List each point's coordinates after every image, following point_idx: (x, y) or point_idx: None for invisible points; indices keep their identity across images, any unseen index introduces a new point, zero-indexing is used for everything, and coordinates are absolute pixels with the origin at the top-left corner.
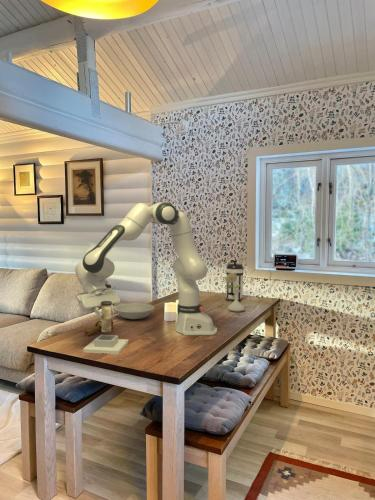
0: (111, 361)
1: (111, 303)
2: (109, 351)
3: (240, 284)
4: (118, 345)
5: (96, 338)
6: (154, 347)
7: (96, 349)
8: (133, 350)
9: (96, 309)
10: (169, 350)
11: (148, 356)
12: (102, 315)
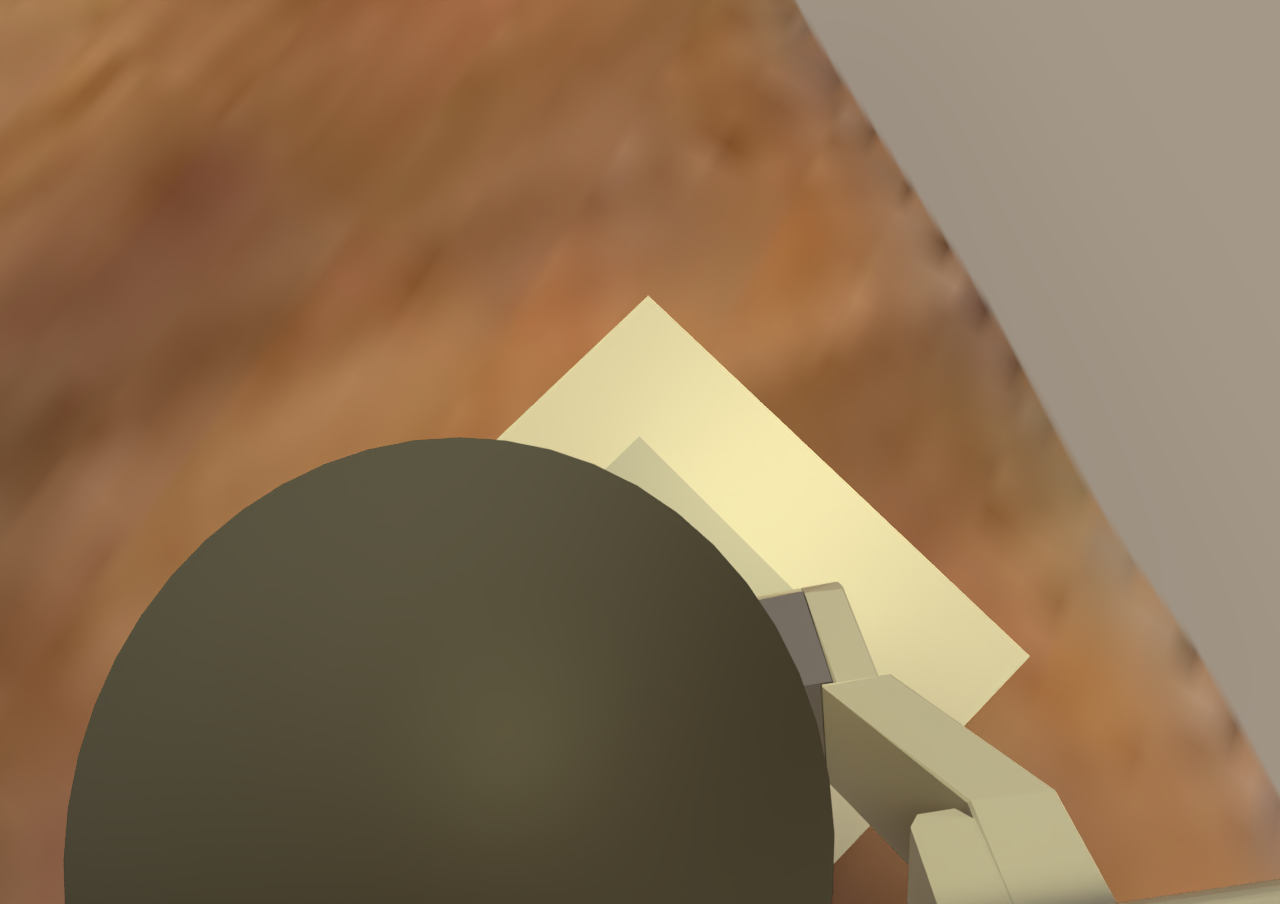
0: (823, 160)
1: (256, 545)
2: (733, 381)
3: None
4: None
5: None
6: (171, 277)
7: (865, 521)
8: (428, 330)
9: (1036, 789)
10: (115, 101)
11: (410, 72)
12: (777, 595)
